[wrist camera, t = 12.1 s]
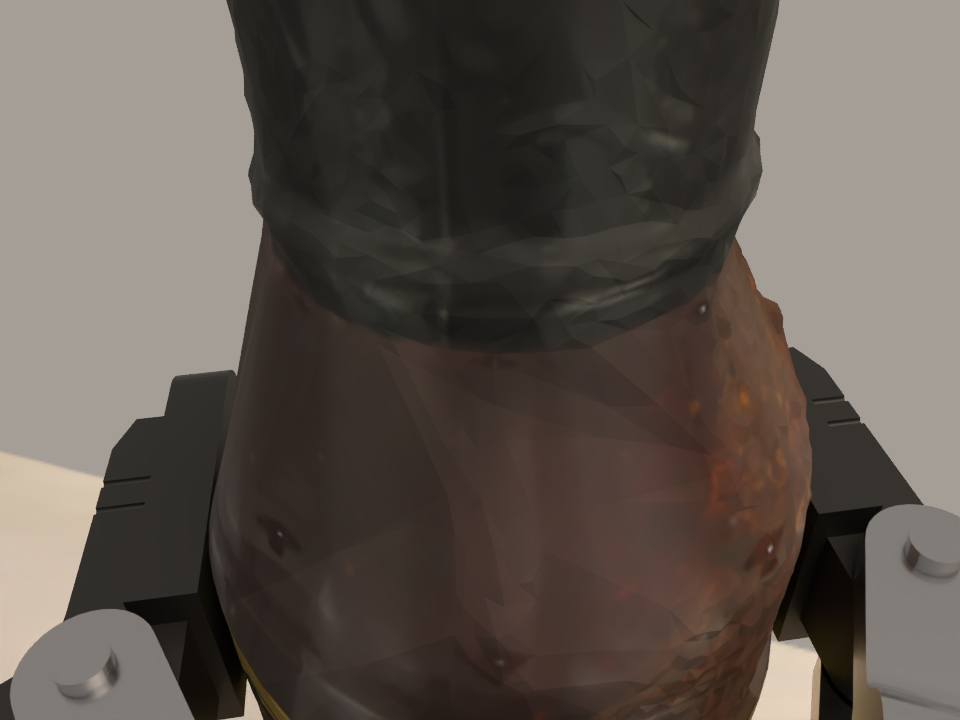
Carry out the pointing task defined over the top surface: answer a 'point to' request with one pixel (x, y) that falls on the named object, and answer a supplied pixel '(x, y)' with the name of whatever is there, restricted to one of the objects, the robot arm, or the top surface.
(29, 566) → the top surface
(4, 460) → the top surface
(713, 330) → the sauce bottle
